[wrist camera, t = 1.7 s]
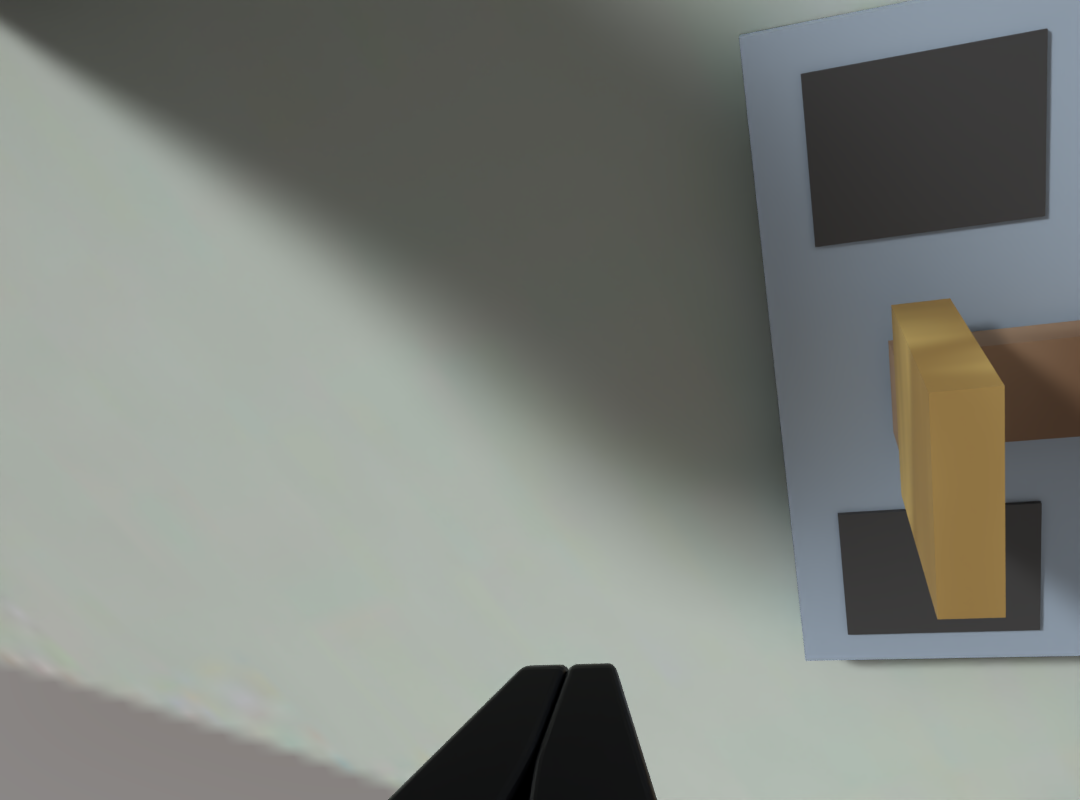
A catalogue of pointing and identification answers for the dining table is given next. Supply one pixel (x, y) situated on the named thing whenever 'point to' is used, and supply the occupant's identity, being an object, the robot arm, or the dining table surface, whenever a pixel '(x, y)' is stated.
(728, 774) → the dining table surface
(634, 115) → the dining table surface
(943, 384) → the tan u-shaped piece
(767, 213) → the pale blue flat board
